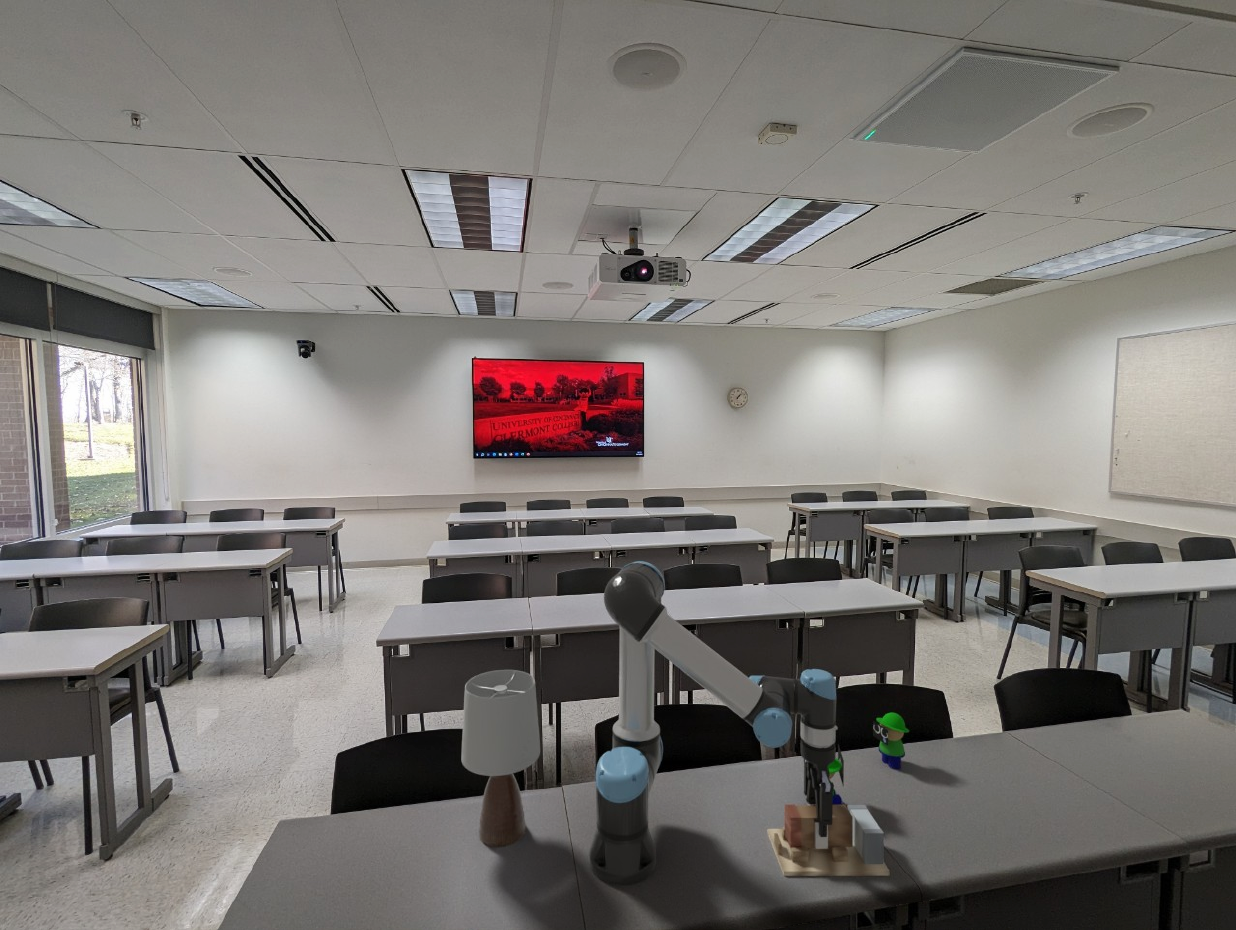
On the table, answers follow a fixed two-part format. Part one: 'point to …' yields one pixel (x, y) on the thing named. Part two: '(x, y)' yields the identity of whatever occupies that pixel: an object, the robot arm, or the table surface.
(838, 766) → the toy
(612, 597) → the robot arm
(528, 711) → the lamp
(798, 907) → the table surface
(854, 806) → the pale blue brick
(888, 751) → the toy
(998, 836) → the table surface
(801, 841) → the brown wooden block
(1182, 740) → the table surface
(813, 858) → the jig
